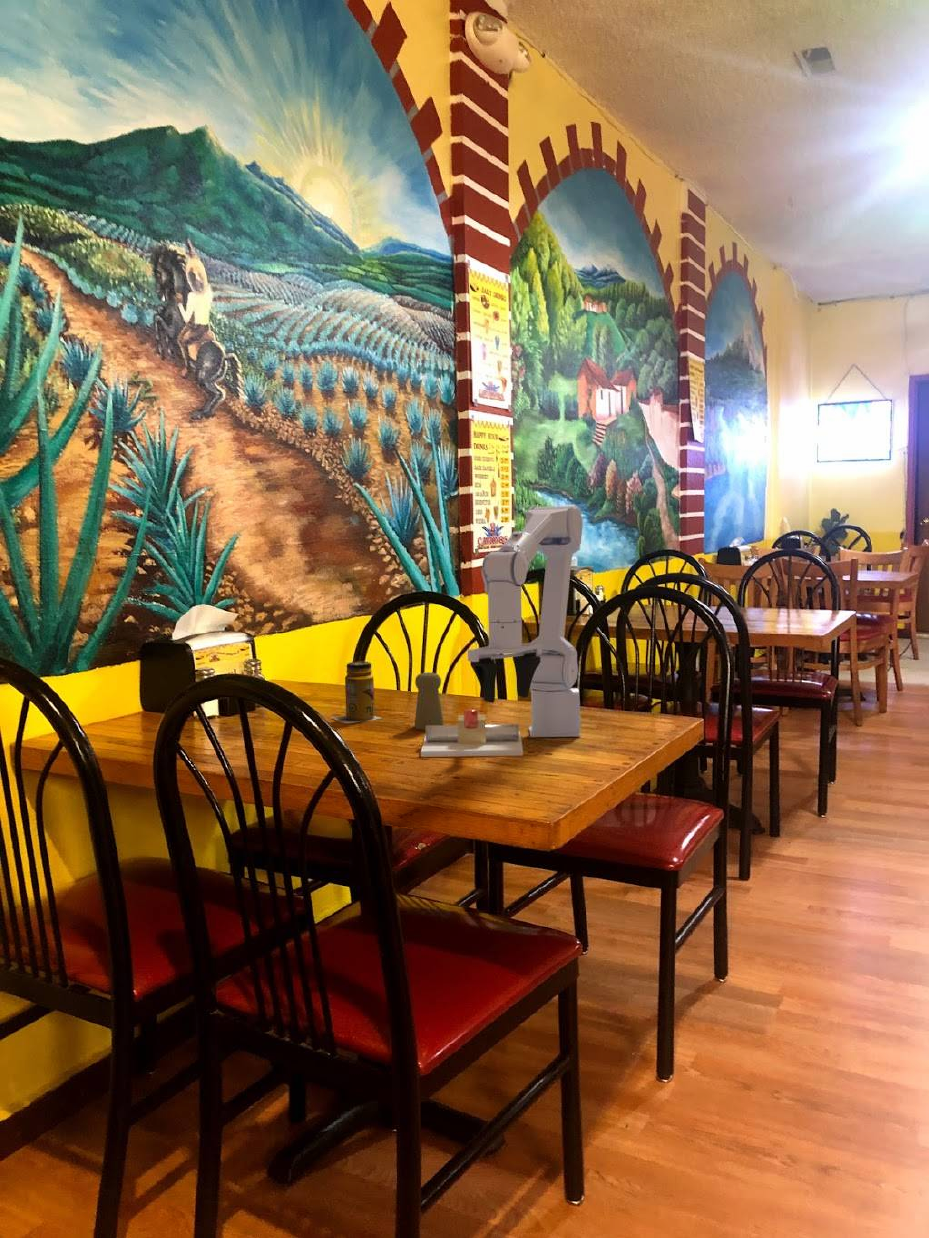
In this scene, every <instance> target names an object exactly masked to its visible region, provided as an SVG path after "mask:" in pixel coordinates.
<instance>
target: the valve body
mask: <svg viewBox="0 0 929 1238" xmlns="http://www.w3.org/2000/svg"><path fill="white" fill-rule="evenodd" d="M486 719H487V718H486V714H478V728H475V729H466V728H464V714H458V718H457V724H448V725H446V724H444V725H431V726H426V730H425V735H426V742H457V741H458V744H486V741H519V732H520V731H519V724H518V723H516V724H515V723H511V724H506V723H504V724H486V723H487V721H486Z"/></svg>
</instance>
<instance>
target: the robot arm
mask: <svg viewBox="0 0 929 1238" xmlns="http://www.w3.org/2000/svg"><path fill="white" fill-rule="evenodd" d="M524 521H525V522H524V523H525V526H524V527H523V529H522V531H521V530H518V531H513V532H512V533H511V534H510V536H509V537H508V538H507V540H506V541H504V543H503V545H501V547H500V548H498V550H497V551H491V552H489V553H488V554H486V555H485V556H484V558H483V560H482V564H481V568H480V569H481V576H482V581H483V583H484V592H485V595H487V603H488V604H487V605H488V607H487V608H488V609H487V612H488V617H487V618H488V646H483V647H478V648H472V649H467V661H468V662H469V663H470V667H471V668H472V670H473V672H474V673H475V675H476V678H477V680H478V682H479V686H480V688H481V692H482V696H483V701H484V702H487V703H495V700H496V680H497V673H498V669H499V664H498V663H495V662H494V661H493V660H496V659H497V660H498V659H508V658H512V661H513V664H514V669H515V676H516V692H517V697H520V698H524V699H525V698H528V697H529V693H531V695H530V696H531V697H530V700H531V703H530V704H531V705H530V707H531V709H530V710H531V725H530V726H528V732H529V735H530V738H561V737H562V738H567V737H570V738H573V737H581V725H582V718H581V701H580V690H579V688H577V687H573V685H575V684H576V681H577V679H578V674H579V668H578V667H579V665H578V652H577V650H576V647H575V646H574V645H573V644H571V642H569V641H568V640H567V639H566V638H565V632H566V624H567V623H566V621H567V611H568V601H569V590H570V578H571V567H572V562H573V561H572V560H573V555H574V554H575V553H577V552H578V551H580V549H581V543H582V536H583V535H582V534H583V523H584V522H583V518H582V512H581V510H580V508H579V507H578V506H577V505H576V504H573V505H561V506H559V505H556V506H552V505H551V506H536V505H533V506H530V507H529V508H528V509H527V511H526V515H525V519H524ZM538 552H539V553H542V554H544V557H545V559H546V561H545V570H544V571H545V572H544V580H543V592H542V599H541V600H542V602H541V611H540V612H541V613H540V622H539V632H538V636H537V637H536V638H535V639H533V640H532V641H531V642H524V643H523V634H522V633H523V631H522V629H523V626H522V625H523V624H522V623H523V619H522V585H523V584H524V583H525V582H526V579H527V575H528V571H529V568H530V564H531V562H532V560H534V559H535V557H536V556H537V554H538Z"/></svg>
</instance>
